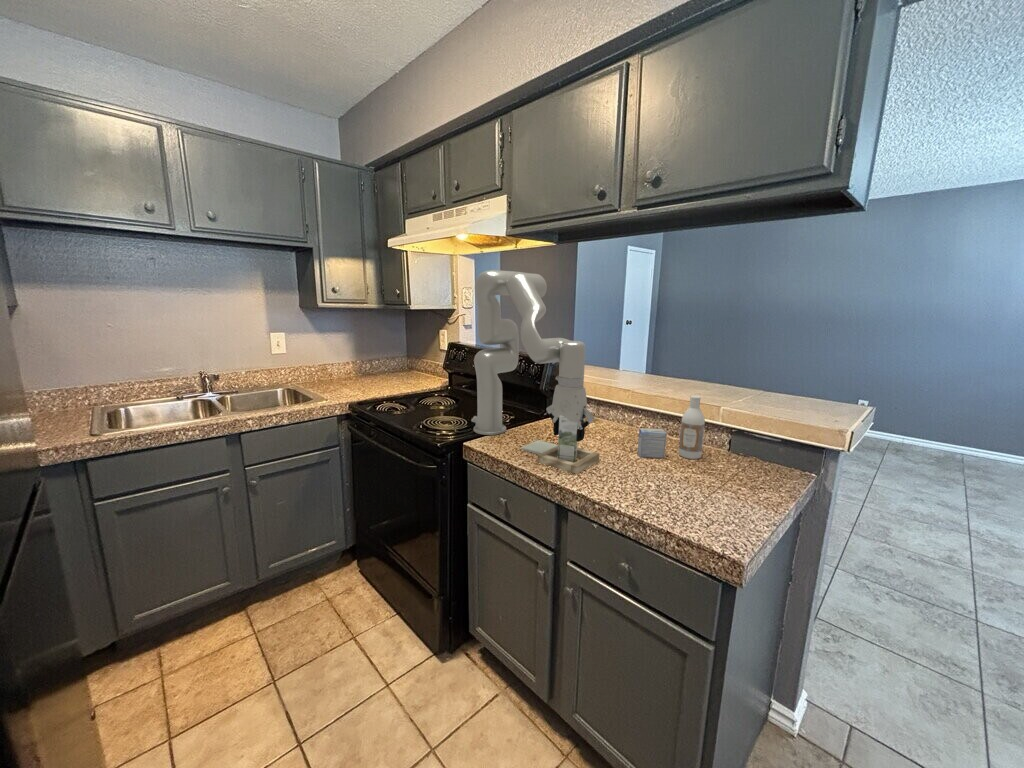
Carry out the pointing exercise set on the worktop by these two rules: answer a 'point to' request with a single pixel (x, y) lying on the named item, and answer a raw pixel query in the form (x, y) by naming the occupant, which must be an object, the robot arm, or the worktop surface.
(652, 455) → the medicine box
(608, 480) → the worktop surface
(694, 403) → the bath foam
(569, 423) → the syrup box
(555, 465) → the beige flat square frame
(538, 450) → the sage tile
